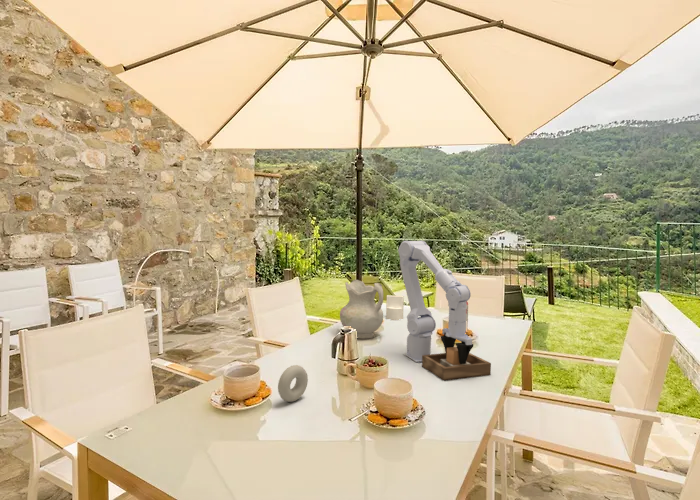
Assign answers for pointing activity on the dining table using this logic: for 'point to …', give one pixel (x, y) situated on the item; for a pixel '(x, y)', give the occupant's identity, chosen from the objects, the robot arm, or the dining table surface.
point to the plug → (452, 356)
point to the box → (455, 367)
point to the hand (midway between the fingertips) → (455, 360)
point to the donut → (286, 381)
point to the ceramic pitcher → (363, 309)
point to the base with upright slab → (394, 307)
